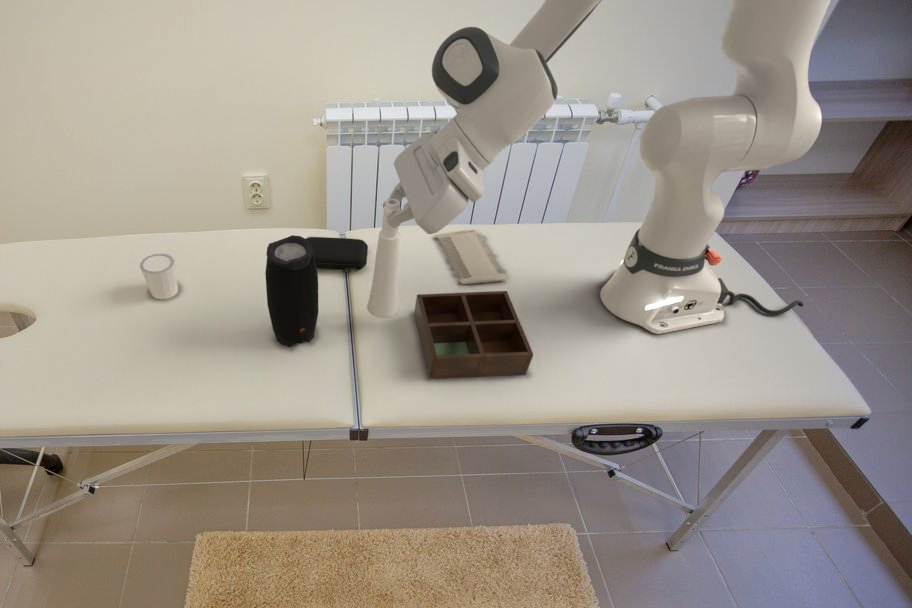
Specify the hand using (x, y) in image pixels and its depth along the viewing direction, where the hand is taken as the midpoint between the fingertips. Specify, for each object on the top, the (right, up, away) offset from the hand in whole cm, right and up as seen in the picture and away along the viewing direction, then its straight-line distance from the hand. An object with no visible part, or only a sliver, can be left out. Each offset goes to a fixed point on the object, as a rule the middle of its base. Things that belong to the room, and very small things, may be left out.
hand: (387, 217), depth 94 cm
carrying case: (-8, 0, +31) cm, 32 cm away
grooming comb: (+22, +1, +31) cm, 38 cm away
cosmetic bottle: (+1, -13, +15) cm, 20 cm away
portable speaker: (-16, -18, +16) cm, 29 cm away
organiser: (+17, -20, +14) cm, 29 cm away
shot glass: (-43, -7, +26) cm, 51 cm away
